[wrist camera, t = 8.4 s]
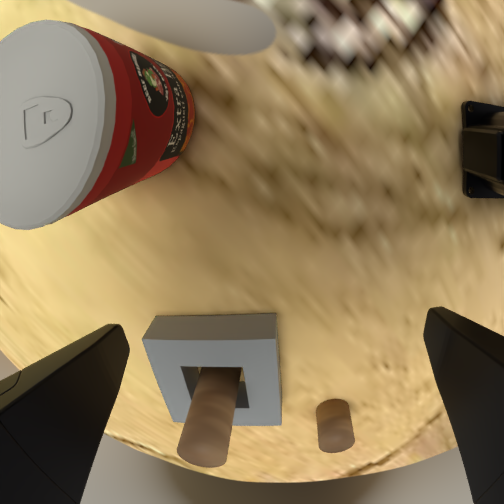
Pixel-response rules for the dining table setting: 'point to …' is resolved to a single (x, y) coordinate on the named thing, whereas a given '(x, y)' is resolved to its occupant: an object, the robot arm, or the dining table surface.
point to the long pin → (210, 417)
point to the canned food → (81, 120)
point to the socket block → (218, 361)
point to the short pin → (334, 426)
